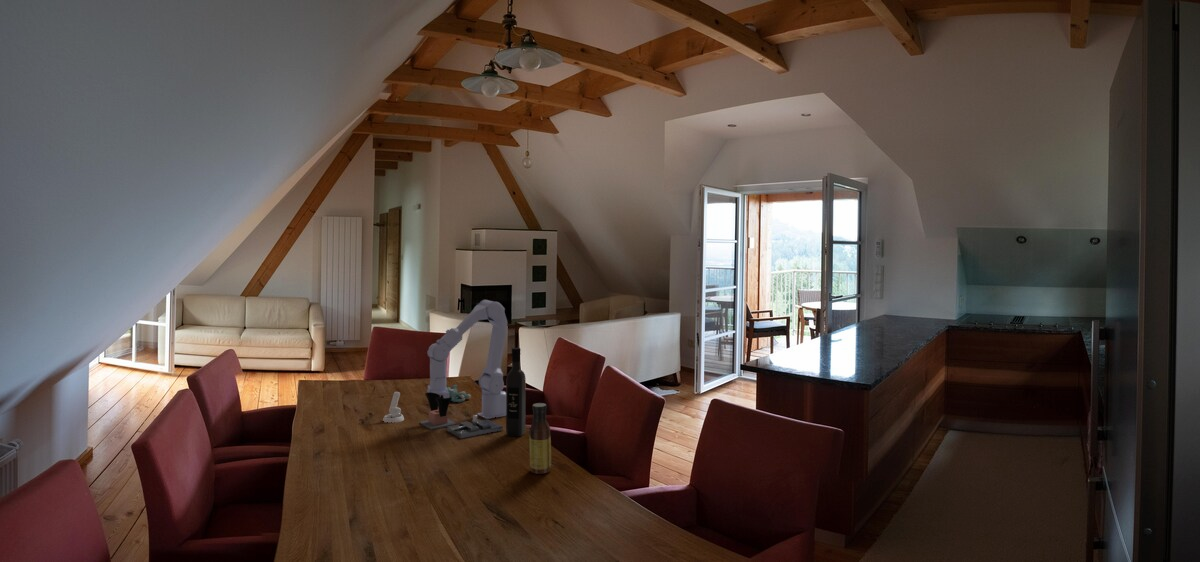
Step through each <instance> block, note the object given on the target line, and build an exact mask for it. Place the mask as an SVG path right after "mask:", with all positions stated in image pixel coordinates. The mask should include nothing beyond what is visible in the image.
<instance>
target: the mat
mask: <svg viewBox="0 0 1200 562" xmlns="http://www.w3.org/2000/svg"><path fill="white" fill-rule="evenodd" d="M419 424H421V425H422V426H424V427H425V428H427V429H428V430H430V431H432V430H438V429H443V428H447V427H448V426H454V425H458V423H457V422H456V421H453V420H451V419H450V418H448V423H445V424H439V425H433V424H431V423H430V422H429V419H428V420H422V421H421V420H420V421H419Z"/></svg>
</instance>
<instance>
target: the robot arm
mask: <svg viewBox="0 0 1200 562" xmlns="http://www.w3.org/2000/svg"><path fill="white" fill-rule="evenodd" d="M505 311H506V308H505V307H504V306H503V304H502V303H500V302H499V301H493V300H488V299H482V300H481V301H480V302H479V303H478V304H476V305H475V306H474V307H473V309H472V310H471V312H470V313H469V314H468V315H467V316H466V317H465V318H463V320H462V321H461V322H460V323H459V325H458V326H456V327H455V328H453V327H452V328H449V329H447V330H445V334H443V336H441V338H439V339H437V340H436V341H435V343H432V344H431V345H430V346H428V349H427V351H426V354H427V357H429V384H428V385H427V389H426V392H425V393H424V395H425V397H426V398H427V401H428V404H429V408H430V409H429V410H430V411H434V410H439V415H440V417H443V416H446V414H447V412H448V408H449V406H450V403H451V402H452V401H451V400H452V397H451V396H449V392H448V390H447V388H446V387H447V359H448V357H449V355H450V352H451V351H452V350H453V349H454V348H455V347H456V346H457V345H458V344H459V343H460V342H462V340H463V335H464V334H465V333H466V332H468V330H470V329H471V328H472V327H473V326H474V325H475V324H476V323H478V322H479V321H484V320H488V321H489V323H490V324H491V326H492V328H491V330H492V331H491V335H490V343H489V346H488V347H489V348H488V354H487V355H488V356H487V360H486V366H485V367H484V368H483V370H482V373H481V376H480V377H479V378H478V385H479V387H480V389H481V412H478V413H476V415H477V416H479V417H482V418H483V419H485V420H487V419H488V420H490V419H494V418H495V417H496V418H501V417H506V391H505V390H503V389H504V386H505V383H504V373H503V371H502V362H503V355H504V347H505V344H506V343H505V342H506V335H507V331H508V330H507V329H508V319H507V316H506V313H505Z"/></svg>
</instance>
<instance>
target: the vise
mask: <svg viewBox="0 0 1200 562" xmlns="http://www.w3.org/2000/svg"><path fill="white" fill-rule="evenodd" d="M458 423H459V424H457V425H454V426H448V427H446V431H447V432H448V433H449V434H452V435H454V437H455V436H456V437H457V438H459V439H461V440H462V439H467V438H472V437H476V436H477V435H478V436H481V435H482V434H483V435H487V433H488V434H492V433H491V432H493V433H498V432H501V431H502V430H504V426H502V425H500V423H497V422H494V421H493V420H490V419H480V418H478V415H477V414H473V415H472V419H471V420H470V422H469V421H461V422H458ZM497 431H498V432H497ZM483 435H482V436H483Z"/></svg>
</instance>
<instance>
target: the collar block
mask: <svg viewBox="0 0 1200 562" xmlns="http://www.w3.org/2000/svg"><path fill="white" fill-rule="evenodd" d="M448 415H449V414H448V411H447V414H446V416H443V417H440V415H439V409H438V410H434V411H431V410H429V411H428V420H429V422H430V423H431V424H433V425H439V424H445V423H448V419H449V417H448Z"/></svg>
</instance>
